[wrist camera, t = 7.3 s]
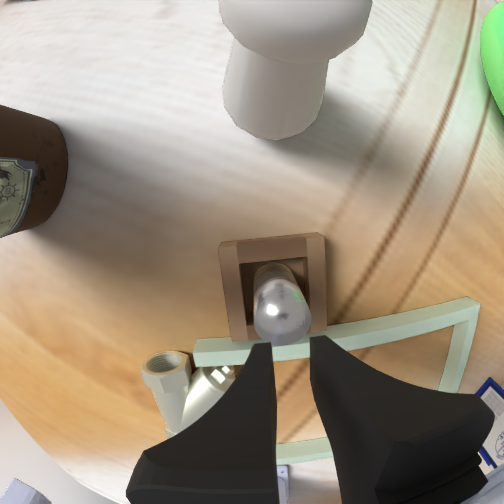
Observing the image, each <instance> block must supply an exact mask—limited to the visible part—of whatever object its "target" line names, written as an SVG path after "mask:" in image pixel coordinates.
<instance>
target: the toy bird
mask: <svg viewBox="0 0 504 504" xmlns="http://www.w3.org/2000/svg"><path fill="white" fill-rule="evenodd" d="M480 50H481V58H482V63H483V68H484V72H485V75H486V79H487V82H488V85H489V87H490V90H491V92H492V95H493V97H494V99H495V101H496V103H497V105H498V107H499V109H500V111H501V112H502V114H503V116H504V1H503V2H501V3H499V4H497V5H496V6H494V7H493V8H492V9H491V10H490V11H489V13H488V14H487V16H486V18H485V20H484V22H483V25H482V28H481V34H480Z"/></svg>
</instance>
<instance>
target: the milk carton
mask: <svg viewBox="0 0 504 504" xmlns="http://www.w3.org/2000/svg"><path fill="white" fill-rule="evenodd" d="M475 395H479V396H480V397H481V399H482V400H483V401H484V402H485V403H486V404H487V405H488V406H489V407H490V408H491V409H492V411H493V412H494V414H495V420H494V424H493V427H492V429H491V431H490V433H489V435H488V437H487V438H486V440H485V442H484V443H483V445H482V447H481V448H480V450H479V453H480V454H481V456H482V457H483V459H484V460H485V461H486V463H487V464H488V466H489V467H490V469H491V470H492V471H493V470H494V469H496V468H497V467H498V466H500V465H501V464H502V463H504V390H503V389H502V388H501V387H500V386H499V385H498V384H497V383H496V382H495V381H494V380H493V379H491V378H490V377H489V378H488V380H487V381H486V382H485V383H484V385H483V386H482V387H481V388H480V389H479V390H478V392H477V393H476V394H475Z"/></svg>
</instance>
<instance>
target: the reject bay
mask: <svg viewBox="0 0 504 504" xmlns="http://www.w3.org/2000/svg"><path fill="white" fill-rule="evenodd" d="M479 309H480V304H479V303H478V302H476V301H474V300H473V299H471V298H469V297H468V296H467V297H463V298H460V299H456V300H452V301H449V302H445V303H441V304H437V305H433V306H428V307H424V308H420V309H416V310H411V311H407V312H402V313H397V314H392V315H387V316H382V317H377V318H372V319H367V320H361V321H355V322H349V323H343V324H337V325H331V326H327V331H324V332H317V333H310V334H305V335H304V336H303V337H302V338H301V339H300V340H298V341H297V342H295V343H292V344H289V345H283V346H279V345H273V344H271V346H272V355H273V362H275V361H284V360H292V359H300V358H307V357H310V338H309V337H315V336H322V335H326V336H327V337H329V338H330V339H331V340H333V341H334V342H335V343H336V344H338V345H339V346H340V347H342V348H343V349H344V350H346V351H350V350H355V349H360V348H365V347H370V346H375V345H380V344H384V343H389V342H393V341H397V340H401V339H405V338H409V337H413V336H417V335H421V334H424V333H428V332H431V331H435V330H438V329H442V328H445V327H448V326H451V325H454V329H453V334H452V339H451V343H450V348H449V352H448V356H447V360H446V364H445V367H444V371H443V375H442V378H441V381H440V385H439V388H438V391H442V392H448V393H457V390H458V388H459V385H460V382H461V379H462V376H463V373H464V370H465V366H466V363H467V360H468V356H469V353H470V349H471V345H472V341H473V337H474V333H475V329H476V324H477V319H478V314H479ZM256 343H266V341H264V340H263V339H259V340H248V341H236V342H232V340H231V337H222V338H206V339H197V342H196V344H195V347H194V350H193V357H194V361H195V365H196V367H207V366H227V365H242V364H245V362H246V360H247V358H248V356H249V353H250V351H251V348H252V346H253V345H254V344H256ZM331 457H333V452H332V449H331V445H330V442H329V439H328V437H325V438H319V439H313V440H306V441H299V442H292V443H283V444H276V463H277V465H284V464H293V463H301V462H307V461H314V460H320V459H325V458H331Z"/></svg>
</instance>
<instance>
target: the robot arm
mask: <svg viewBox="0 0 504 504" xmlns="http://www.w3.org/2000/svg"><path fill="white" fill-rule="evenodd" d="M309 338H310V381H311V386H312V391H313V396H314V400H315V403H316V406H317V409H318V412H319V414H320V417H321V420H322V423H323V425H324V428H325V431H326V434H327V437H328V439H329V442H330V445H331V449H332V452H333V457H334V462H335V466H336V471H337V476H338V481H339V487H340V492H341V499H342V504H504V463H502V464H501V465H500V466H498V467H497V468H496V469H494V470H493V471H491V472H490V473H488V474H487V475H484V473H483V472H482V470H481V469H480V467H479V466H478V465H480V463H481V462H482V459H481V457H480V456H479V455H478V451H479V450H480V448H481V447H482V445H483V443H484V442H485V440H486V438H487V437H488V435H489V433H490V431H491V429H492V427H493V424H494V420H495V414H494V412H493V411H492V409H491V408H490V407H489V406H488V405H487V404H486V403H485V402H484V401H483V400H482V399H481V397H480V396H479V395H475V394H459V393H448V392H442V391H437V390H431V389H427V388H423V387H419V386H416V385H413V384H409V383H406V382H403V381H401V380H398V379H395V378H393V377H391V376H389V375H386V374H384V373H382V372H380V371H378V370H376V369H374V368H372V367H371V366H369V365H367V364H365V363H364V362H362V361H361V360H359V359H357V358H356V357H354V356H353V355H351V354H350V353H349V352H347V351H346V350H344V349H343V348H342V347H340V346H339V345H338V344H336V343H335V342H334V341H333V340H331V339H330V338H329V337H327V336H326V335H322V336H315V337H309ZM276 431H277V399H276V388H275V377H274V366H273V355H272V346H271V342H266V343H256V344H254V345H253V346H252V348H251V351H250V353H249V356H248V358H247V360H246V362H245V364H244V365H243V367H242V369H241V370H240V372H239V374H238V375H237V377H236V378H235V380H234V381H233V383H232V384H231V385H230V387H229V388H228V389H227V391H226V392H225V393H224V394H223V396H222V397H221V398H220V399H219V400H218V401H217V402H216V403H215V404H214V405H213V406H212V407H211V408H210V409H209V410H208V411H207V412H206V413H205V414H204V415H203V416H201V417H200V418H199V419H198V420H197V421H195V422H194V423H193V424H191V425H190V426H188V427H187V428H186V429H184V430H183V431H181V432H179V433H178V434H176V435H175V436H173V437H171V438H169V439H167V440H165V441H163V442H161V443H159V444H157V445H155V446H153V447H151V448H149V449H147V450H144V451H143V453H142V455H141V457H140V459H139V460H138V462H137V464H136V466H135V468H134V470H133V473H132V476H131V479H130V481H129V484H128V487H127V489H126V497H127V499H128V500H129V501H130V503H131V504H287V500H289V487H288V468H287V466H285V465H282V466H277V463H276ZM0 504H52V503H51V502H50V501H49V500H48V499H47V498H46V497H45V496H44V495H43V494H41V493H40V492H39V491H37V490H35V489H34V488H32V487H31V486H29V485H27V484H25V483H23V482H22V481H20V480H18V479H16V478H13V480H12V481H11V483H10V484H9V486H8V487H7V489H6V490H5V492H4V494H3V495H2V497H1V499H0Z"/></svg>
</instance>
